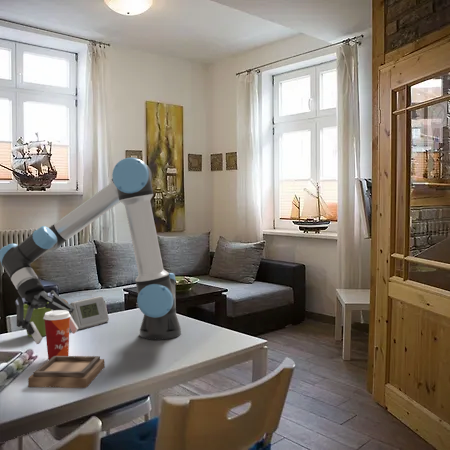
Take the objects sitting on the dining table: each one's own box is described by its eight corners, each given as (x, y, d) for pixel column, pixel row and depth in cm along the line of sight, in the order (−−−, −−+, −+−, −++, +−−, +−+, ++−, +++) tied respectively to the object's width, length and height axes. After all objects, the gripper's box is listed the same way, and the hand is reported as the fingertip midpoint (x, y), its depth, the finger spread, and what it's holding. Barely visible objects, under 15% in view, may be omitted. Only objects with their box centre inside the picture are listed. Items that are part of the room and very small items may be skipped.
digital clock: (76, 331, 190) (75, 303, 189) (65, 326, 197) (64, 300, 196) (113, 323, 201) (112, 297, 200) (102, 319, 208) (101, 294, 207)
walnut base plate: (104, 367, 149) (104, 355, 149) (86, 387, 133) (85, 374, 133) (52, 366, 150) (52, 354, 150) (28, 387, 134) (27, 373, 134)
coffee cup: (63, 364, 152) (62, 316, 151) (39, 362, 154) (37, 315, 153) (77, 355, 160) (75, 309, 159) (53, 354, 162) (52, 309, 161)
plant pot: (38, 329, 193) (37, 300, 192) (61, 333, 187) (60, 303, 187) (13, 337, 182) (12, 307, 182) (36, 341, 177) (35, 310, 176)
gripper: (54, 285, 175) (84, 333, 168) (-13, 298, 155) (17, 353, 147) (64, 272, 172) (94, 320, 165) (-4, 282, 151) (28, 338, 144)
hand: (58, 336), depth 156 cm, fingers open, 13 cm apart
